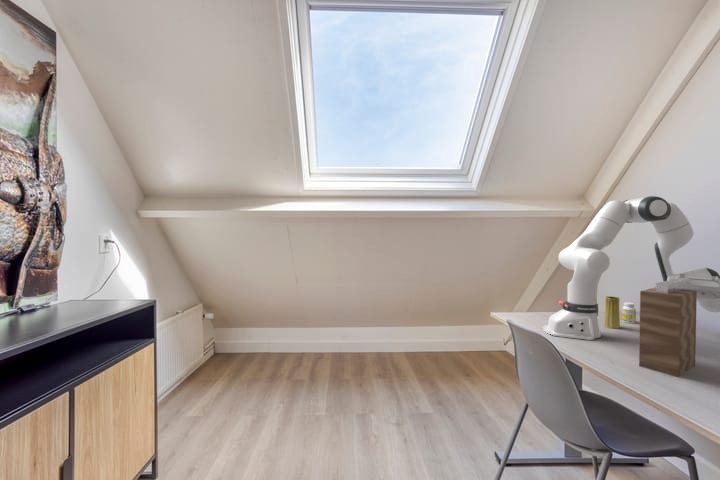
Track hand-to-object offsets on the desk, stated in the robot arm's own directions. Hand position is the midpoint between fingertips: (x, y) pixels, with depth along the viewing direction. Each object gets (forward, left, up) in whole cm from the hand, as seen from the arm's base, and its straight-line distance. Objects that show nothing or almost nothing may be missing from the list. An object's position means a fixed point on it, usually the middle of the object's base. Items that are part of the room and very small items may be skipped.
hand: (696, 276), depth 126 cm
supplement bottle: (-5, +37, -29) cm, 47 cm away
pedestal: (-20, -21, -28) cm, 41 cm away
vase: (-17, +26, -29) cm, 42 cm away
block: (-17, -17, -2) cm, 24 cm away
